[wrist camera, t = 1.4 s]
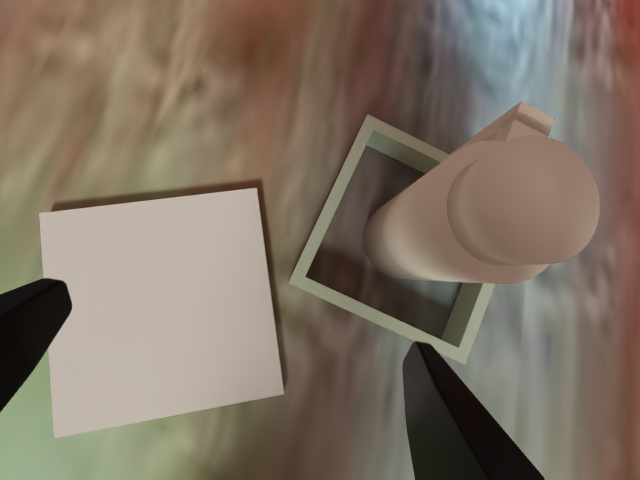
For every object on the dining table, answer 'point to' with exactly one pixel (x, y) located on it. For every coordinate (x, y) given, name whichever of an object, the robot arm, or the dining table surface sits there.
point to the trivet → (160, 309)
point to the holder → (455, 334)
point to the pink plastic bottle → (489, 209)
